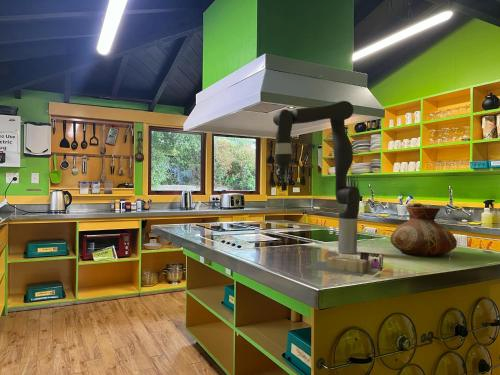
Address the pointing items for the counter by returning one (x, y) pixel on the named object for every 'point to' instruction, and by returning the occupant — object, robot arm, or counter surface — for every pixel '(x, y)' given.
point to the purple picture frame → (374, 261)
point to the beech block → (348, 264)
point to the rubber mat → (323, 267)
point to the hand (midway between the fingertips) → (284, 190)
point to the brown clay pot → (423, 233)
